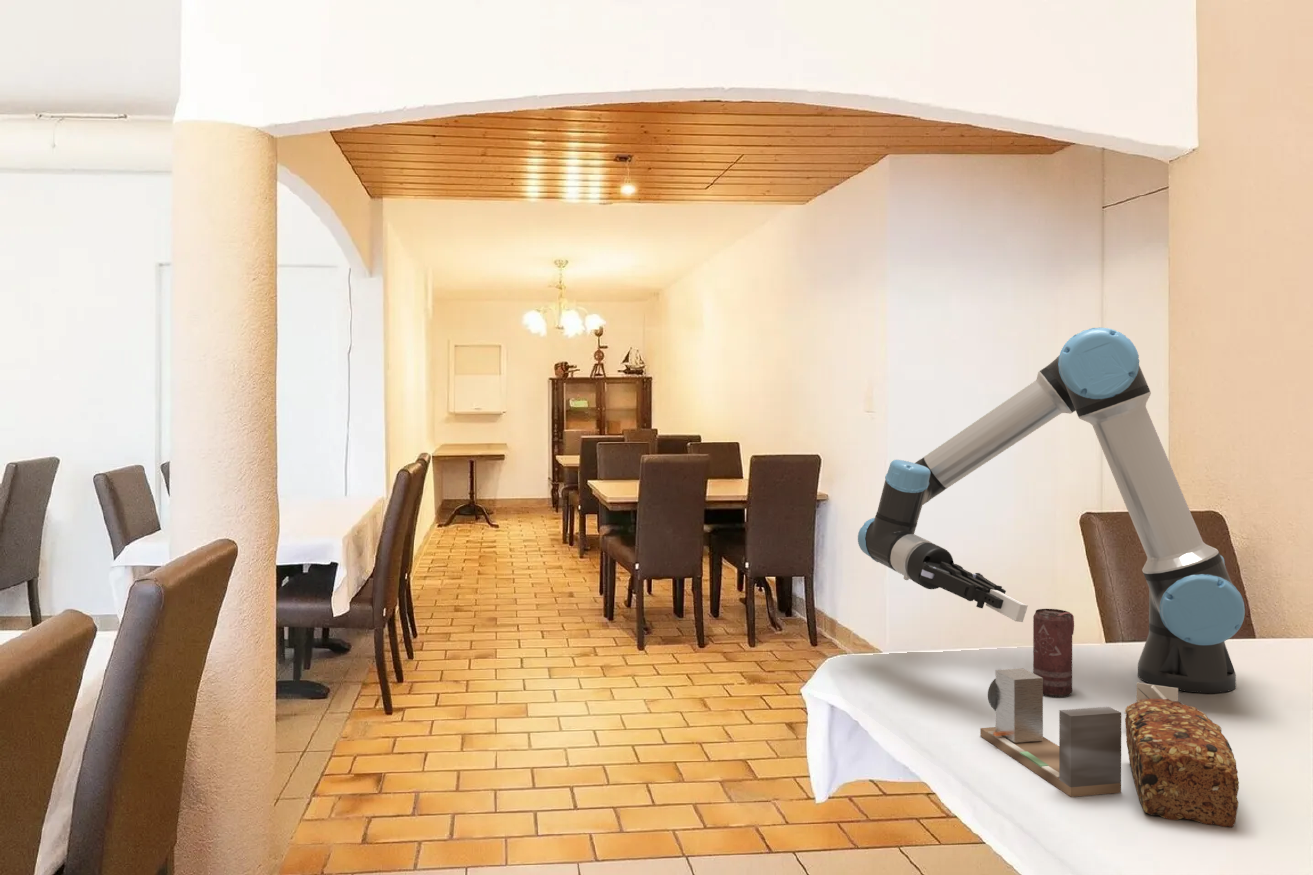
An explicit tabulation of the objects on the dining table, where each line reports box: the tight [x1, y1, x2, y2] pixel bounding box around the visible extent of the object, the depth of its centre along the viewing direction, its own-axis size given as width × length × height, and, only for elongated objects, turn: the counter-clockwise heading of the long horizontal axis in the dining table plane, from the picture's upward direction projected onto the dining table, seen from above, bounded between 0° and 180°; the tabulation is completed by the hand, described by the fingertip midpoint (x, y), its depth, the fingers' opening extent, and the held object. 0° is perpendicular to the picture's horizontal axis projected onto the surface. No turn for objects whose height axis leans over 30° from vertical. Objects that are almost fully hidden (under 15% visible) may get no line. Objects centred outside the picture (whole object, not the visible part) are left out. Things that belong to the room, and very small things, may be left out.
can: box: [1032, 608, 1075, 698], centre depth 157 cm, size 6×6×14 cm
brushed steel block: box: [987, 667, 1044, 743], centre depth 133 cm, size 6×7×9 cm
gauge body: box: [979, 706, 1122, 798], centre depth 126 cm, size 22×7×10 cm, turn 10°
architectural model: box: [1124, 682, 1179, 715], centre depth 137 cm, size 3×7×7 cm, turn 56°
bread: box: [1124, 699, 1240, 828], centre depth 116 cm, size 19×11×10 cm, turn 157°
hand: (1021, 613), depth 140 cm, fingers closed
